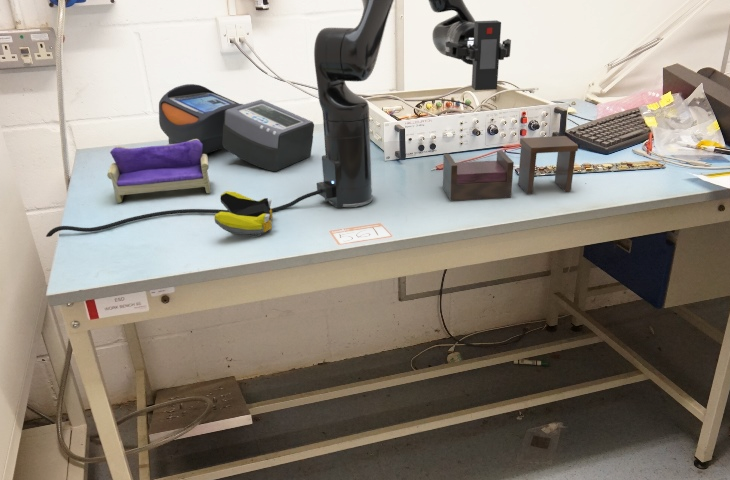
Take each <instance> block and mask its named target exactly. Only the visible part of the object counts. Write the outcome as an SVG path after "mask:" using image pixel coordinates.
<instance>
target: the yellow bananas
mask: <svg viewBox="0 0 730 480" xmlns="http://www.w3.org/2000/svg"><path fill="white" fill-rule="evenodd" d="M219 200H220V203H221V205H222V206H224V207H225V210H228V211H229V212H219V213H215V214H214V223H215V224H216V225H217V226H218V227H220V229H222V230H224V231H225V232H228V233H230V234H231V235H249V236H250V237H253V238H254V237H256V238H257V237H260V236H262V235H263V234H264V233H267V232H269V230H272V229H273V226H272V219H273V212H272V210H271V209H272V208H271V204H272V198H268V197H264V198H262V199H260V200H255V199H252V198H251V197H247V196H245V195H242V194H240V193H239V192H236V191H230V190H225V191H224V192H222V193H221V194H220V199H219Z"/></svg>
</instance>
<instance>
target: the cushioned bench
mask: <svg viewBox="0 0 730 480" xmlns="http://www.w3.org/2000/svg"><path fill="white" fill-rule="evenodd" d="M442 157H443V158H442V159H443V160H442V189H443V190H444V192H445V194H446V196H447V198H448V200H449V201H450V202H455V201H456V202H457V201H458V202H459V201H475V200H490V199H491V200H493V199H506V198H507V199H508V198H512V188H513V179H514V178H513V177H514V166H515V165H514V164H515V163H514V161H513V160H512V158H510V157H509V156H508V155H507V154H506V152H505V151H503V150H497V151H496V160H480V161H479V160H478V161H464V162H463V161H462V162H456V161H455V160H454V159H453V156H451V154H450V153H443V156H442Z"/></svg>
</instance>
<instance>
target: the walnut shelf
mask: <svg viewBox="0 0 730 480" xmlns="http://www.w3.org/2000/svg"><path fill="white" fill-rule="evenodd" d="M519 144H520V155H519V164H518V165H519V166H518V167H519V168H518V176H517V177H518V178H517V185H518V186H519V187H520V188H521V189H522V190H523V192H525V194H526V195H533V194H534V183H535V173H536V165H537V154H547V153H549V154H550V153H557V157H556V164H555V165H556V166H555V175H554V183H555V184H556V185H557V186H558V187H559V188H560V189H562V191H564V192H565V193H570V192H571V191H572V184H573V176H574V169H575V168H574V167H575V162H576V154H577V152H578V151H579V145H578V144H577V143H575V142H574V141H573V140H571V139H570V138H569V137H568V136H566V135H555V136H537V137H536V136H535V137H534V136H533V137H520V138H519Z"/></svg>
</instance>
